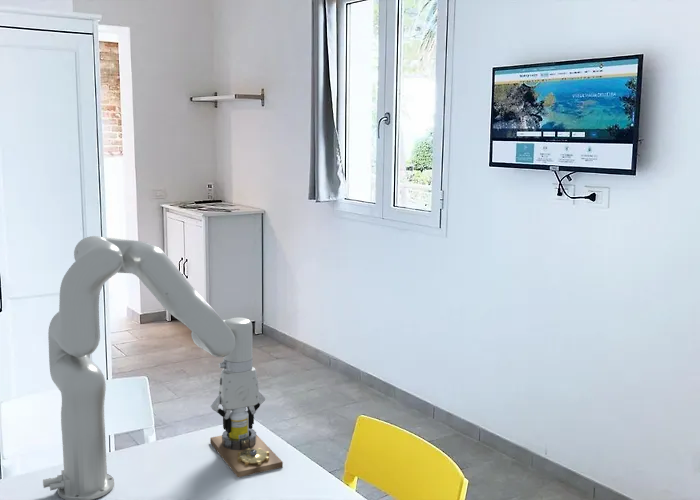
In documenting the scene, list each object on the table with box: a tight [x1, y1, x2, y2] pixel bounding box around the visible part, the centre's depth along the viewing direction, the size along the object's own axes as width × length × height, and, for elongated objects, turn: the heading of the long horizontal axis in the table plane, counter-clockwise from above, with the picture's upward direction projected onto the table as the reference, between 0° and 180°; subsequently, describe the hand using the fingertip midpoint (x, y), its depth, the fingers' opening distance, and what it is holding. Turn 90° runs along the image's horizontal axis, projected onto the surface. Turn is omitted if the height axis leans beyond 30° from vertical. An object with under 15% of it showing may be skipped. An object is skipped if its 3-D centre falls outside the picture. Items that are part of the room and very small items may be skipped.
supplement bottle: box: [229, 407, 249, 439], centre depth 191 cm, size 5×5×10 cm
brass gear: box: [237, 448, 269, 466], centre depth 182 cm, size 8×8×2 cm
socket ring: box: [221, 428, 257, 450], centre depth 191 cm, size 9×9×2 cm
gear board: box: [210, 434, 284, 478], centre depth 188 cm, size 12×22×2 cm, turn 29°
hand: (238, 428), depth 191 cm, fingers closed on supplement bottle, 5 cm apart
